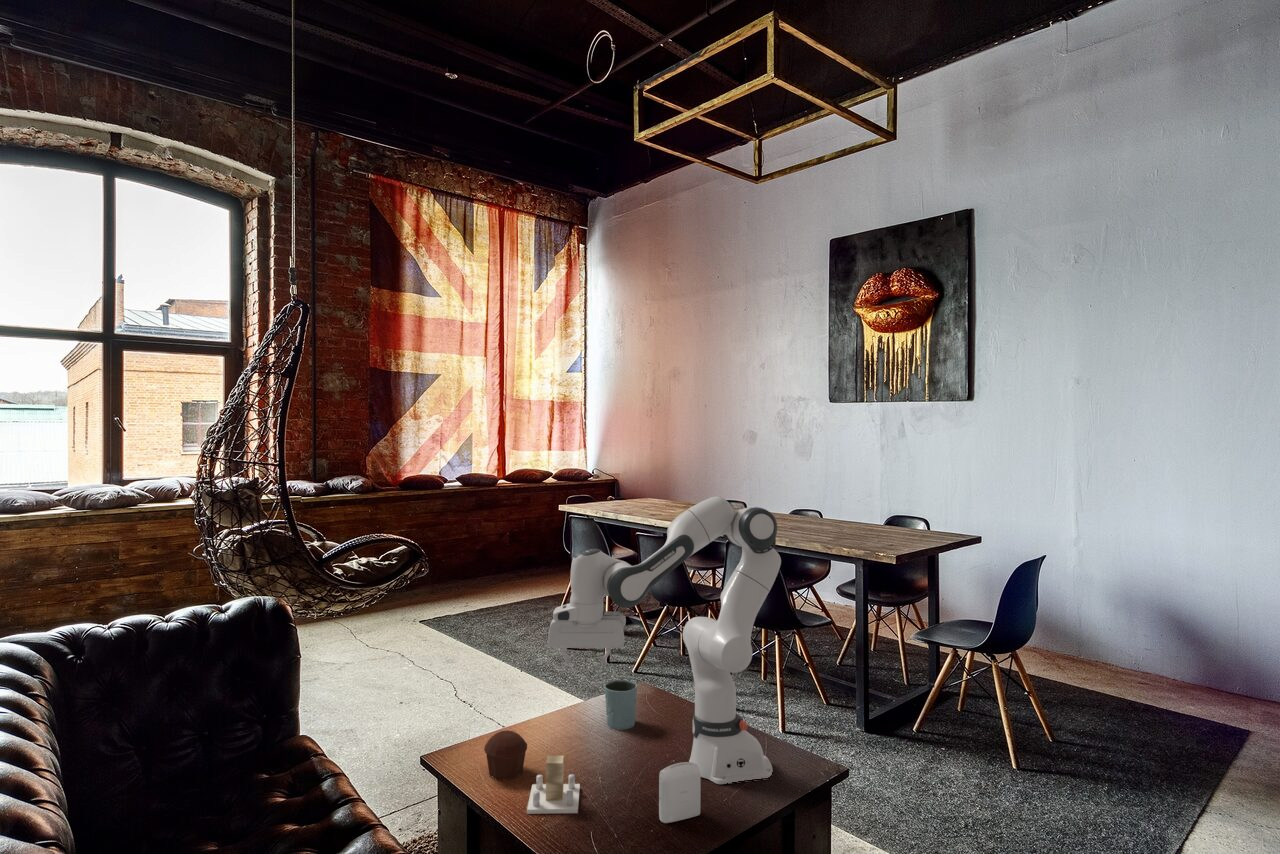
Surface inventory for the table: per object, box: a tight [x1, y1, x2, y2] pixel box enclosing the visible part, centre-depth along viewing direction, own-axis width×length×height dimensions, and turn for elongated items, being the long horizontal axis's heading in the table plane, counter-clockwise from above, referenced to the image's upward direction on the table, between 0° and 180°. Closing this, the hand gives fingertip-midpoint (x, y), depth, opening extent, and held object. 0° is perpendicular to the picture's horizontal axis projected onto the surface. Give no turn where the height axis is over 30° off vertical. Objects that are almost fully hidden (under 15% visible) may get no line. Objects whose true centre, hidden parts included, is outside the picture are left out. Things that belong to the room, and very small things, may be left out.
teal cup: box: [604, 679, 638, 731], centre depth 218 cm, size 10×10×12 cm
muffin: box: [483, 730, 528, 781], centre depth 187 cm, size 12×11×10 cm
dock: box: [526, 773, 581, 815], centre depth 173 cm, size 12×12×4 cm
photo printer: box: [658, 761, 702, 824], centre depth 166 cm, size 10×4×12 cm, turn 114°
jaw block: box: [545, 755, 565, 801], centre depth 173 cm, size 4×4×9 cm
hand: (585, 663), depth 186 cm, fingers open, 8 cm apart
